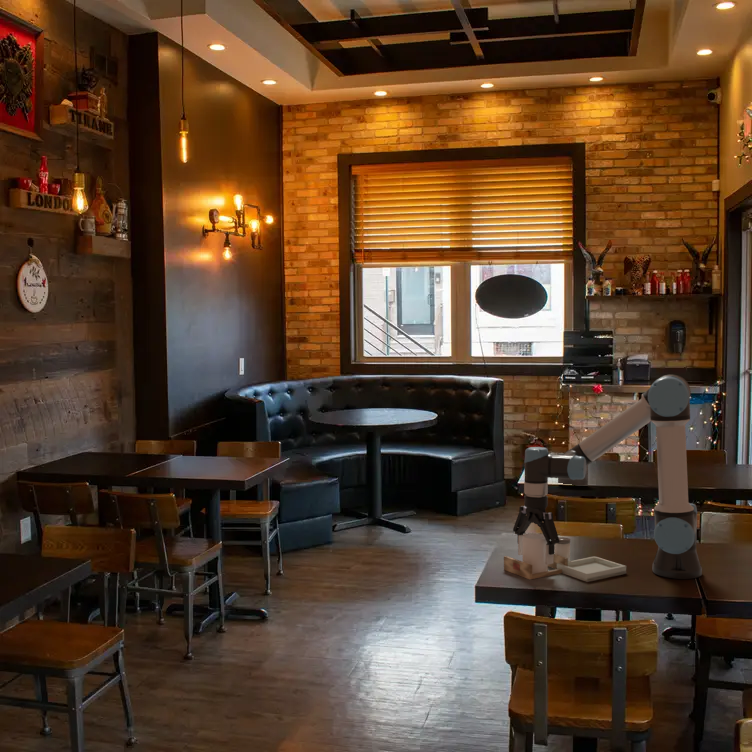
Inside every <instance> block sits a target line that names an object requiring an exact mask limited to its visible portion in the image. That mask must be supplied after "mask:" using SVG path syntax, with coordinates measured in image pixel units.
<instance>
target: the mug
mask: <svg viewBox="0 0 752 752" xmlns="http://www.w3.org/2000/svg"><path fill="white" fill-rule="evenodd" d="M546 544H547V541H546V539H545V537H544V535H543V533H540V532H539V533H537V532H535V533H534V532H532V533H531V532H529V533H526V534H523V555H522V562H525V563H528V564H531V565H532V574H536V573H541V572H546V571H549V566H548V565H546V564H545V560H546Z"/></svg>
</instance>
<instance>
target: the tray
mask: <svg viewBox="0 0 752 752" xmlns="http://www.w3.org/2000/svg"><path fill="white" fill-rule="evenodd" d="M557 569H562V573H561V574H563V575H567V576H570V577H572V578H575V579H578V580H580V581H583V582H586V583H588V582H593V581H598V580H603V579H608V578H612V577H616V576H617V577H618V576H621V575H626V574H627V565H624V564H621V563H617V562H614V561H611V560H607V559H604V558H601V557H599V556H597V555H596V556H589V557H584V558H579V559H575V560H570V561H568V566H566V565H563V564H562V563H558V564H557Z"/></svg>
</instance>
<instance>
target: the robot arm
mask: <svg viewBox="0 0 752 752" xmlns="http://www.w3.org/2000/svg"><path fill="white" fill-rule="evenodd" d="M691 394H692V393H691V387H690V385H689V383H688V381H687V380H686V379H685V378H683V377H682V376H680V375H677V374H673V373H671V374H670V373H669V374H665V375H662V376H660V377H659V378H657V379H655V381H653V383H652V384H651V385H650V387H649V388H648V389H646V391H644V392H643V393H642V394H641V398H640V399H639V400H637V401H636V402H634V403H633V404H632V405H630V406H629V407H628V408H626V409H625V410H624V411H622V412H621V413H619V414H617V416H615V417H614V418H612V419H611V420H609V421H608V422H606V423H605V424H604V425H602V426H601V427H599V428H598V429H597V430H596V431H594V432H593V433H591V434H590V435H588V436H587V437H586V438H585V439H583V440H582V441H580V442H579V443H577V444H576V445H575V446H573V447H572V448H570V449H568V450H567V451H565V452H564V453H565V454H564V453H563V454H564V455H558V454H551V453H550V452H549V449H548V448H547V447H541V446H531V447H528V448H526V449H525V451H524V461H523V462H524V483H523V484H524V485H523V488H524V489H523V493H524V497H523V498H524V499H523V500H524V505H521V506H519V508H518V509H519V510H518V514H517V517H516V521H515V523H514V526H513V528H512V531H513V532H515V534H516V535H517V545H518V546H517V547H518V549H517V551H518V552H517V554H518V556H523V535H524V534H527V533H526V531H527V530H528V529H529V527H530V525H531V524H532V523H534V524H535V525H537V526H538V527H539V529H540V531H541V534H543V535H544V537H545V539H546V541H547V544H546V560H545V564H546V565H548V564H553V558H554V554H555V544H556V543H559V542H560V541H559V534H558V530H557V529H556V525H555V521H554V513H552V512H547V511H546V509H547V507H548V506H549V505H548V503H549V499H548V498H549V496H547V495H548V494H549V493H548V492H549V491H548V490H549V488H548V484H549V483H548V482H549V481H548V479H552V478H553V479H558V478H562V479H572V480H575V479H584V478H585V475H586V466H587V465H588V466H589V465H590V464H592V463H594V461H596V460H598V459H599V458H601V456H603V455H604V454H606V453H608V452H609V451H610V450H612V449H613V448H614V447H616V446H617V445H619V444H620V443H622V442H623V441H624V440H626V439H628V438H629V437H630V436H632V435H633V434H635V433H637V432H638V431H639V430H640V429H642V428H643V427H644V426H645V425H648V424H649V423H650V422H652V423H653V424H654V426H655V436H656V458H657V480H658V481H657V482H658V503H657V504H656V505H655V506H654V508H653V509H654V510H653V511H654V529H653V539H654V541H655V543H656V545H657V546H658V548H657V551H656V554H655V556H654V560H653V561H652V573H654V574H655V575H658V576H660V577H663V578H670V579H678V580H690V579H697V578H700V577H702V574H703V572H702V571H703V570H702V569H703V567H702V565H701V563H700V560H699V555H698V552H697V524H698V520H697V519H698V517H697V515H698V509H697V505H696V504H694V503H690V502H689V487H688V485H689V483H688V481H689V480H688V463H687V461H688V459H687V457H688V456H687V437H686V435H687V434H686V425H687V423H688V422H690V421H691V405H690V404H691V403H690V399H691Z"/></svg>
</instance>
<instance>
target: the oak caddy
mask: <svg viewBox="0 0 752 752" xmlns="http://www.w3.org/2000/svg"><path fill="white" fill-rule="evenodd" d="M558 563H562V564H563V565H566V566H568V558H565V557H562V556H559V555H556V554H555V553H554V558H553V564H548V568H552V570H548V571H546V572H541V573H536V574H532V565H531V564H528V563H525V562H523V560H519V559H516V558H514V557H511V556H508V555H505V556H503V570H504V571H506V572H509V573H511V574H514V575H516V576H520V577H522V578H525V579H527V580H534V579H535V580H536V579H538V578H539V579H540V578H543V577H544V578H545V577H548V576H549V577H550V576H554V575H558V574H563V573H562V569H557V564H558Z"/></svg>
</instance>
